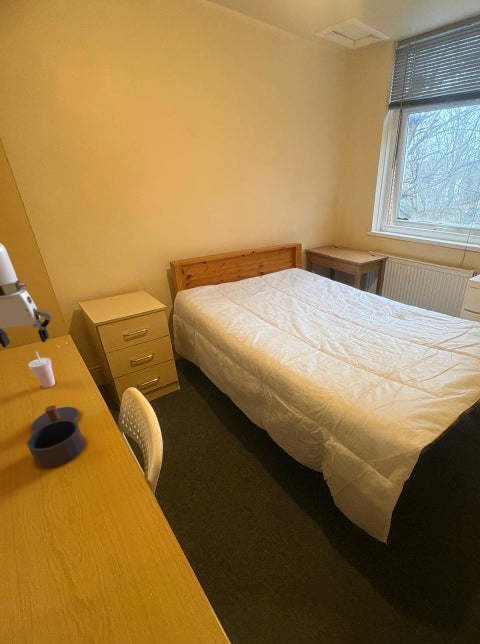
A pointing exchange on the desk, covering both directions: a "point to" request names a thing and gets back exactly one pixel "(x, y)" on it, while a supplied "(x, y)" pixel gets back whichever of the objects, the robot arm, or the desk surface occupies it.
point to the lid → (54, 416)
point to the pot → (56, 443)
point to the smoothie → (43, 371)
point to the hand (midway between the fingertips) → (26, 342)
